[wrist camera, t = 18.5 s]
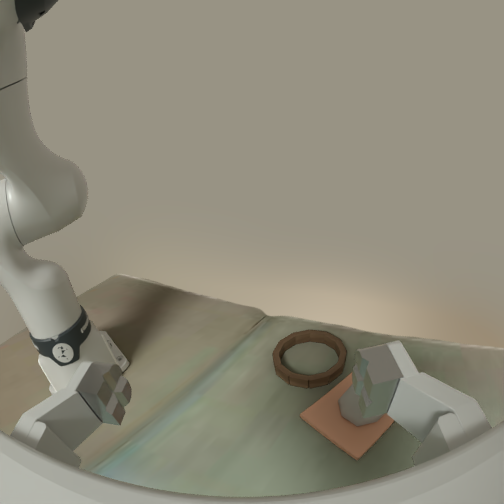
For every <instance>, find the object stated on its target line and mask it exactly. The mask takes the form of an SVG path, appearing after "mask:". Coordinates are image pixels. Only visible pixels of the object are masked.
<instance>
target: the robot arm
mask: <svg viewBox="0 0 504 504" xmlns="http://www.w3.org/2000/svg"><path fill="white" fill-rule="evenodd" d="M57 1H58V0H0V173H1V174H2V175H4V176H5V177H6V178H4V179H2V180H0V284H1V285H2V286H3V288H4V289H5V290H6V291H7V293H8V294H9V295H10V297H11V299H12V300H13V302H14V304H15V306H16V307H17V309H18V311H19V313H20V315H21V316H22V318H23V320H24V322H25V324H26V326H27V328H28V329H29V331H30V337H31V339H32V342H33V344H34V346H35V347H36V348H37V350H38V352H39V353H40V354H39V359H38V362H39V364H40V366H41V368H42V370H43V371H44V373H45V375H46V376H47V378H48V380H49V381H50V387H49V390H50V392H51V394H52V396H50V397H48V398H47V399H45V400H44V401H42V402H41V403H39V404H37V405H36V406H34V407H33V408H31V409H30V410H28V411H26V412H25V413H23V415H22V416H21V418H20V420H19V421H18V423H17V425H16V427H15V428H14V430H13V432H12V434H11V435H10V436H9V435H8V434H6V433H4V432H3V431H1V430H0V504H504V421H503V422H501V423H499V424H498V425H496V426H495V427H493V428H492V427H491V425H490V424H489V422H488V420H487V418H486V416H485V414H484V413H483V411H482V409H481V407H480V406H479V404H478V402H477V401H476V399H474V398H472V397H470V396H468V395H466V394H464V393H462V392H460V391H458V390H456V389H454V388H452V387H450V386H449V385H447V384H445V383H443V382H441V381H439V380H437V379H435V378H433V377H431V376H430V375H428V374H426V373H424V372H421V373H419V372H418V370H417V368H416V367H415V365H414V363H413V361H412V360H411V358H410V356H409V355H408V353H407V351H406V350H405V348H404V346H403V345H402V343H401V342H400V341H399V340H397V341H393V342H389V343H385V344H381V345H376V346H371V347H367V348H362V349H357V350H356V352H355V357H354V359H355V362H356V365H355V366H354V367H353V370H352V382H353V387H354V391H355V393H356V394H357V395H359V396H360V399H359V403H358V404H359V407H360V410H361V413H362V416H363V418H368V417H372V416H377V415H381V414H385V413H387V415H389V416H390V417H391V418H392V419H393V420H395V421H396V422H397V423H398V424H400V425H401V426H402V427H403V428H404V429H406V430H407V431H408V432H409V433H411V434H412V435H413V436H414V437H416V438H417V439H418V440H419V441H421V442H422V444H421V445H420V446H419V448H418V449H417V451H416V452H415V453H414V455H413V456H412V459H413V462H414V465H415V466H414V467H411V468H408V469H405V470H403V471H400V472H397V473H394V474H390V475H387V476H384V477H381V478H377V479H374V480H370V481H366V482H362V483H358V484H354V485H349V486H345V487H340V488H335V489H329V490H323V491H317V492H310V493H302V494H293V495H281V496H264V497H223V496H206V495H195V494H186V493H178V492H171V491H165V490H159V489H153V488H148V487H143V486H139V485H134V484H130V483H126V482H122V481H118V480H114V479H111V478H107V477H104V476H101V475H98V474H95V473H92V472H89V471H86V470H83V469H80V468H79V466H80V463H81V459H80V457H79V456H78V455H76V454H75V453H74V452H73V451H74V450H75V449H76V448H77V447H78V446H79V445H80V444H81V443H82V442H83V441H84V440H85V439H86V438H87V437H89V436H90V435H91V434H92V433H93V432H94V431H95V430H96V429H97V428H98V427H99V426H100V425H101V424H102V423H108V424H114V425H121V422H122V420H123V417H124V415H125V409H124V407H125V406H126V405H127V404H128V403H129V402H130V399H131V386H130V384H129V382H128V380H127V379H126V378H124V377H123V376H122V372H123V371H124V370H125V369H126V368H127V367H128V366H129V362H128V360H127V359H126V357H125V356H124V355H123V354H122V352H121V351H120V350H119V348H118V347H117V346H116V344H115V343H114V342H113V340H112V339H111V338H110V336H109V335H108V334H107V332H106V331H98V329H97V328H96V326H95V325H94V323H93V322H92V321H91V320H89V318H88V315H87V313H86V311H85V310H84V309H83V307H82V306H81V305H79V302H78V300H77V297H76V295H75V293H74V290H73V288H72V285H71V283H70V280H69V277H68V274H67V273H66V271H65V270H64V269H63V268H62V267H61V266H60V265H58V264H57V263H55V262H52V261H47V260H38V259H34V258H32V257H31V256H29V255H28V254H27V253H26V252H25V250H24V249H23V246H24V245H25V244H27V243H30V242H33V241H35V240H37V239H40V238H42V237H45V236H47V235H50V234H52V233H55V232H57V231H59V230H61V229H63V228H64V227H66V226H67V225H69V224H71V223H72V222H74V221H75V220H77V219H78V218H80V217H81V216H82V214H83V212H84V210H85V207H86V204H87V198H88V188H87V183H86V179H85V177H84V175H83V173H82V171H81V170H80V169H79V167H78V166H77V165H76V164H74V163H73V162H71V161H70V160H67V159H64V158H62V157H60V156H58V155H56V154H54V153H53V152H51V151H50V150H49V149H48V148H47V147H46V146H45V145H44V144H43V143H42V141H41V140H40V139H39V137H38V135H37V133H36V131H35V129H34V126H33V123H32V118H31V113H30V107H29V100H28V89H27V77H26V76H27V61H26V46H25V34H24V29H25V31H26V32H27V31H29V30H30V29H32V27H33V25H34V23H35V20H37V19H38V18H40V17H41V16H43V15H44V14H46V13H47V12H48V11H49V10H50V8H51V7H52V6H53V5H54V4H55V3H56V2H57Z"/></svg>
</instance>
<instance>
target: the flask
mask: <svg viewBox="0 0 504 504" xmlns="http://www.w3.org/2000/svg"><path fill="white" fill-rule="evenodd" d="M359 399H360V396H359V395H357V394H356V393H355V391H354V387H353V384H352V385H351V386H350V387H349V389H348V390H347V391H346V392H345V393H344V394H343V395H342V396H341V398H340V399H339V400H338V403H339V407H340V411H341V415H342V417H344V418H345V419H347V420H348V421H350V422H351V423H353V424H354V425H356V426H361V425H366V424H370V423H374V422H377V421H378V420H379V419H380V418H381V417H382V416H383V415H384V414H381V415H377V416H372V417H368V418H363V416H362V413H361V410H360V407H359V404H358V403H359Z"/></svg>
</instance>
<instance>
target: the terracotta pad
mask: <svg viewBox="0 0 504 504" xmlns="http://www.w3.org/2000/svg"><path fill="white" fill-rule="evenodd" d="M352 384H353V382H352V372H351V373H350V374H349V375H348V376H347V377H346V378H345V379H343V380H342V381H341V382H340V383H339V384H338V385H336V386H335V387H334V388H333V389H332V390H330V391H329V392H328V393H327V394H325V395H324V396H323V397H322V398H320V399H319V400H318V401H317V402H315V403H314V404H313V405H311V406H310V407H309V408H308V409H306V410H305V411H303V412H302V413H301V414H300V417H301V418H302V419H303V420H304V421H306V422H307V423H308V424H309V425H311V426H312V427H313V428H314V429H316V430H317V431H318V432H319V433H321V434H322V435H323V436H325V437H326V438H327V439H328V440H330V441H331V442H332V443H334V444H335V445H336V446H338V447H339V448H340V449H342V450H343V451H344V452H346V453H347V454H349V455H350V456H351V457H353V458H354V459H356V460H359V459H360V458H361V457H362V456H363V455H364V454H365V453H366V452H367V451H368V450H369V449H370V448H371V447H372V446H373V444H374V443H375V442H376V441H377V440H378V439H379V438H380V437H381V436H382V435H383V434H384V433H385V432H386V430H387V429H388V428H389V427H390V426H391V425H392V424H393V422H394V421H395V420H393V419H392V418H391V417H390V416H389V415H387V413H385V414H384V415H383V416H382V417H381V418H380V419H379V420H378V421H377V422H374V423H370V424H366V425H361V426H356V425H354V424H353V423H351V422H350V421H348V420H347V419H345V418H344V417H342V415H341V411H340V407H339V403H338V400H339V399H340V398H341V396H342V395H343V394H344V393H345V392H346V391H347V390H348V389H349V387H350V386H351V385H352Z"/></svg>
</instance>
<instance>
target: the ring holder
mask: <svg viewBox="0 0 504 504" xmlns="http://www.w3.org/2000/svg"><path fill="white" fill-rule="evenodd" d="M309 341H311V342H318V343H324V344H326V345H328V346H329V347H331V348H333V349H334V350H335V351H336V353H337V355H338V357H339V359H338V363H337V364H335V365H334V366H333V367H332V368H330V369H329V370H328V371H327V372H324V373H319V374H315V375H310V376H308V375H302V374H297V373H292V372H291V371H290V370H288V369H287V368H286V367H284V366H283V365H282V364H281V361H280V359H281V357H282V355H283V353H284V352H285V351H286V350H287V349H289V348H291V347H292V346H294V345H295V344H299V343H304V342H309ZM346 353H347V352H346V349H345V347H344V345H343V343H342V341H341V340H340V339H339V338H337V337H335V336H334V335H332V334H330V333H328V332H327V333H326V332H324V331H317V330H305V331H300V332H295V333H292V334H290V335H289V336H287V337H285V338H284V339H282V340H280V342H278V344H277V346H276V348H275V350H274V351H273V362H274V367H275V371H276V374H277V375H278V376H279V377H280V378H281V379H282V380H284V381H285V382H286V383H287V384H290V385H292V386H297V387H302V388H314V387H319V386H323V385H327V384H328V383H329V384H330V383H331V382H332V381H333V380H334V379H336V378H337V377H338V376H339V375H340V374H342V372H343V368H344V365H345V361H346Z"/></svg>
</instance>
